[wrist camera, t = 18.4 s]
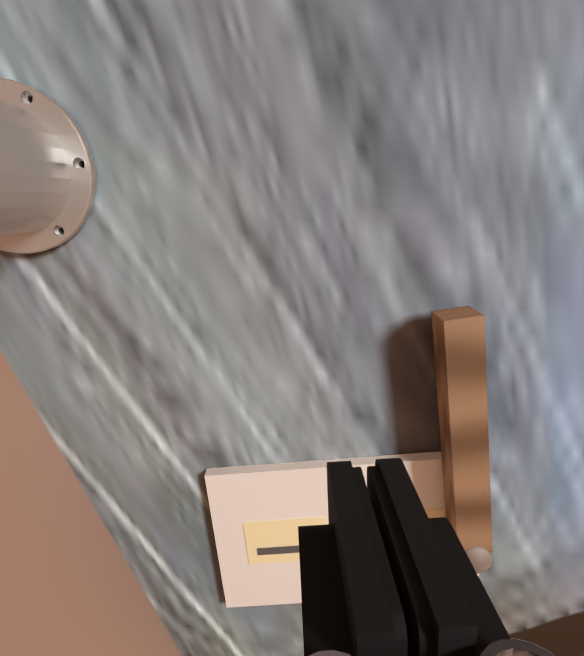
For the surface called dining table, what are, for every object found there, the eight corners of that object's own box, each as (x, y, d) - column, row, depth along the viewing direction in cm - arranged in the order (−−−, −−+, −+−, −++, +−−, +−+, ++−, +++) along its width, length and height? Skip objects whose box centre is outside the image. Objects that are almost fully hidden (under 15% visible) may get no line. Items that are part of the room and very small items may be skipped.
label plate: (228, 597, 46) (226, 610, 44) (206, 468, 41) (203, 477, 40) (473, 581, 45) (479, 594, 44) (479, 448, 41) (485, 457, 39)
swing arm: (479, 542, 41) (494, 571, 38) (447, 546, 42) (460, 575, 38) (468, 305, 35) (486, 316, 31) (431, 311, 35) (445, 322, 32)
